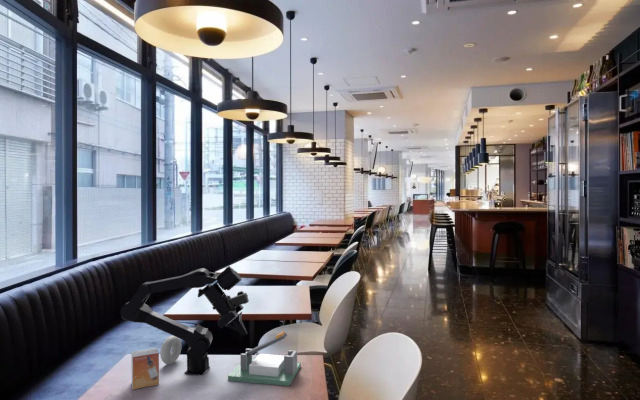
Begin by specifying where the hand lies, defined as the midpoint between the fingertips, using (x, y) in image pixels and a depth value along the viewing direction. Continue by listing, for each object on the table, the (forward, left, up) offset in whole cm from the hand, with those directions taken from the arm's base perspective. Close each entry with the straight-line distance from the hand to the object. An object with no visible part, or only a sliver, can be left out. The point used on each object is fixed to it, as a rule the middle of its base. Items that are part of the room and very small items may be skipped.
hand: (246, 334), depth 142 cm
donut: (-30, +1, -13) cm, 33 cm away
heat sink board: (+7, 0, -13) cm, 15 cm away
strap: (+7, 0, -4) cm, 8 cm away
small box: (-29, -15, -13) cm, 35 cm away
